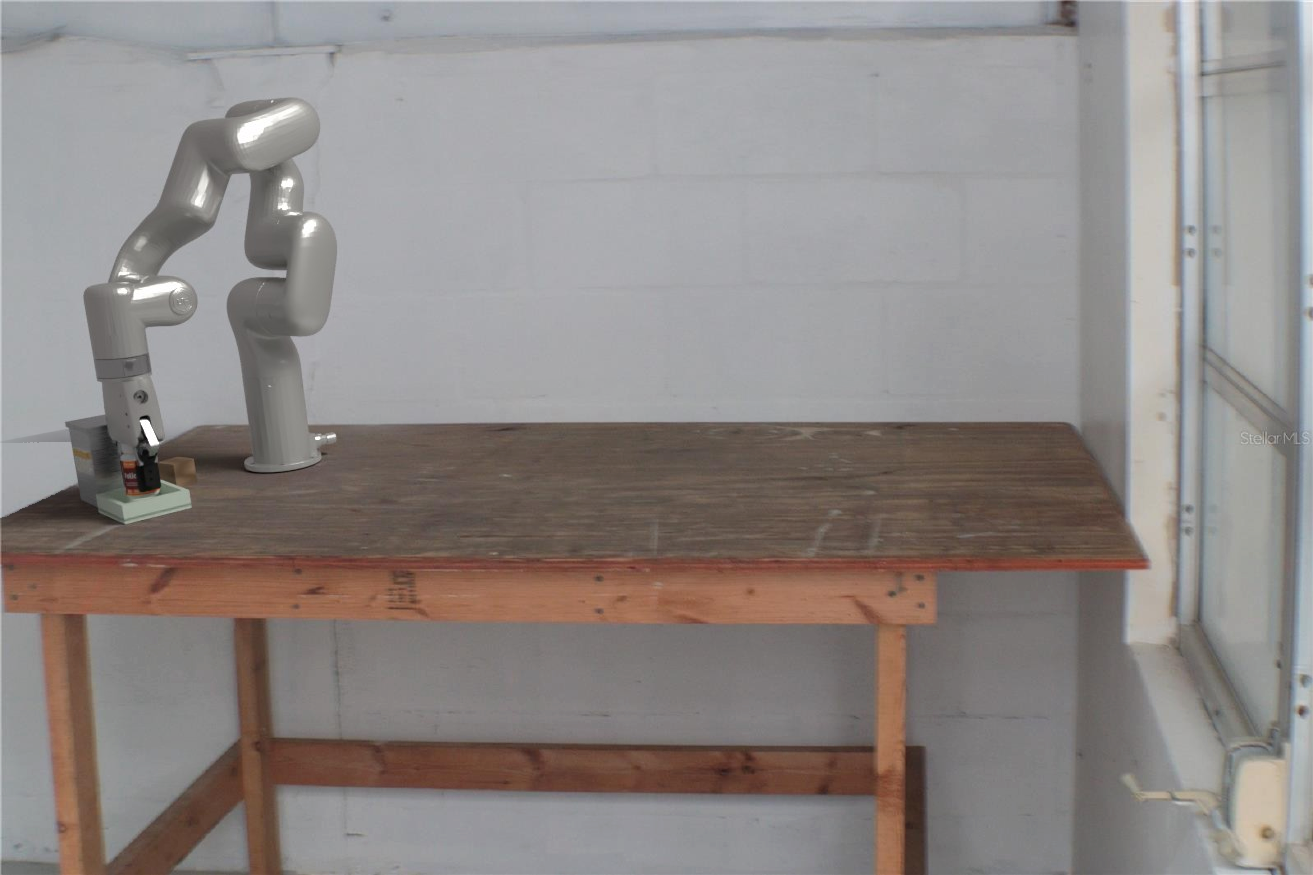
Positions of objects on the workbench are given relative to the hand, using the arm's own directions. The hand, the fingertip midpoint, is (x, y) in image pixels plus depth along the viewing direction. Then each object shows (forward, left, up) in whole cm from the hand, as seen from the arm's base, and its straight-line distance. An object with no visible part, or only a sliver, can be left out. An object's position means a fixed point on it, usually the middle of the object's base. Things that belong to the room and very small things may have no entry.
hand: (142, 485), depth 182 cm
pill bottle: (0, 0, -2) cm, 2 cm away
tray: (0, 0, -4) cm, 4 cm away
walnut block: (-10, -11, -4) cm, 15 cm away
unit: (0, -11, -4) cm, 12 cm away
